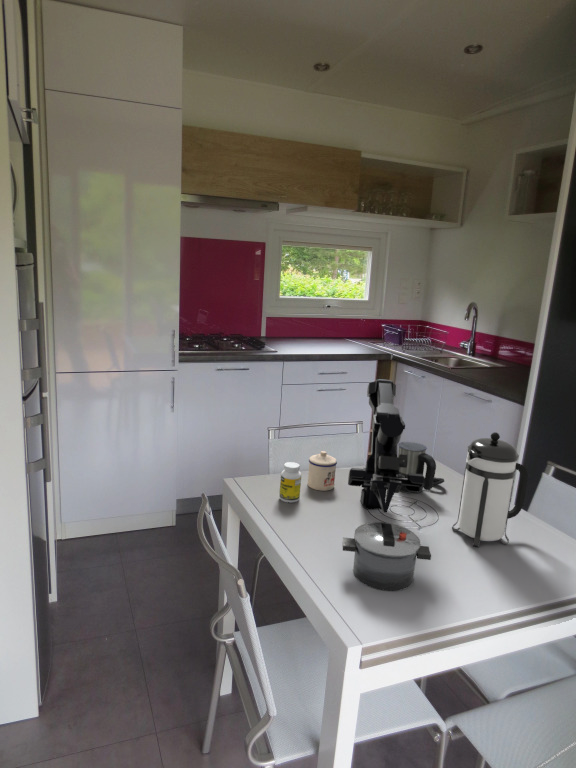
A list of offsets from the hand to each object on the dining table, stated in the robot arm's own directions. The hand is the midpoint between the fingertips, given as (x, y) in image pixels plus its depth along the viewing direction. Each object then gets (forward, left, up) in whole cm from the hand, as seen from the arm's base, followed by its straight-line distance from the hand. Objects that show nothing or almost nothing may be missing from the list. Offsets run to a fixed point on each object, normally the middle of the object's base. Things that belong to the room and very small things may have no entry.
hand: (385, 512), depth 132 cm
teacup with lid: (+4, -45, -12) cm, 46 cm away
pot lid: (+2, +8, -3) cm, 9 cm away
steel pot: (+2, +8, -12) cm, 14 cm away
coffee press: (-33, -9, -12) cm, 36 cm away
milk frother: (-28, -42, -12) cm, 52 cm away
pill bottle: (+17, -34, -12) cm, 40 cm away
